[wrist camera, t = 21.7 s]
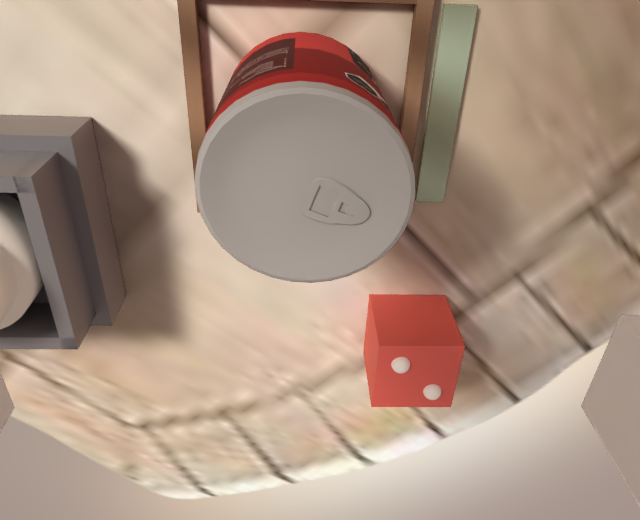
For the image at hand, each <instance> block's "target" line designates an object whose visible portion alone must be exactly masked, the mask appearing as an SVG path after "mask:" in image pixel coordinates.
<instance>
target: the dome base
mask: <svg viewBox="0 0 640 520" xmlns="http://www.w3.org/2000/svg"><path fill="white" fill-rule="evenodd" d="M0 193H7V194H8V195H10V196H12V197H13V198H15V199H16V200H17V201H19V202H20V204H21V208H22V211H23V214H24V218H25V221H26V225H27V228H28V232H29V235H30V239H31V242H32V245H33V249H34V252H35V256H36V259H37V263H38V266H39V269H40V273H41V276H42V280H43V283H44V286H43V288H42V289H41V291H40V292H39V293H38V295H37V296H36V298H35V299H34V300H33V302H32V303H31V305H30V306H29V307H28V309H27V310H26V312H25V313H24V314H23V315H22V317H21V318H19V319H18V320H17V321H16V322H15V323H13V324H11V325H10V326H8V327H5V328H3V329H1V330H0V349H78V348H79V346H80V344H81V342H82V340H83V338H84V337H85V335H86V333H87V331H88V329H89V327H90V325H107V326H112V325H113V323H114V320H115V318H116V316H117V314H118V312H119V310H120V308H121V305H122V303H123V301H124V299H125V297H126V293H125V288H124V283H123V278H122V272H121V267H120V262H119V257H118V252H117V247H116V242H115V236H114V231H113V226H112V221H111V216H110V211H109V205H108V200H107V195H106V190H105V185H104V180H103V175H102V169H101V164H100V159H99V154H98V149H97V144H96V139H95V133H94V128H93V123H92V118H91V117H63V116H23V115H0Z"/></svg>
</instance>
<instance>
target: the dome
mask: <svg viewBox="0 0 640 520" xmlns="http://www.w3.org/2000/svg"><path fill="white" fill-rule="evenodd" d="M43 286H44V283H43V280H42V276H41V273H40V269H39V266H38V263H37V259H36V256H35V252H34V249H33V245H32V242H31V239H30V235H29V232H28V228H27V225H26V221H25V218H24V214H23V211H22V208H21V204H20V202H19V201H17V200H16V199H15V198H13V197H12V196H10V195H8V194H7V193H0V330H1V329H3V328H5V327H8V326H10V325H11V324H13V323H15V322H16V321H17V320H18V319H19V318H21V317H22V315H23V314H24V313H25V312H26V310H27V309H28V307H29V306H30V305H31V303H32V302H33V300H34V299H35V298H36V296H37V295H38V293H39V292H40V291H41V289H42V288H43Z"/></svg>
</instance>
